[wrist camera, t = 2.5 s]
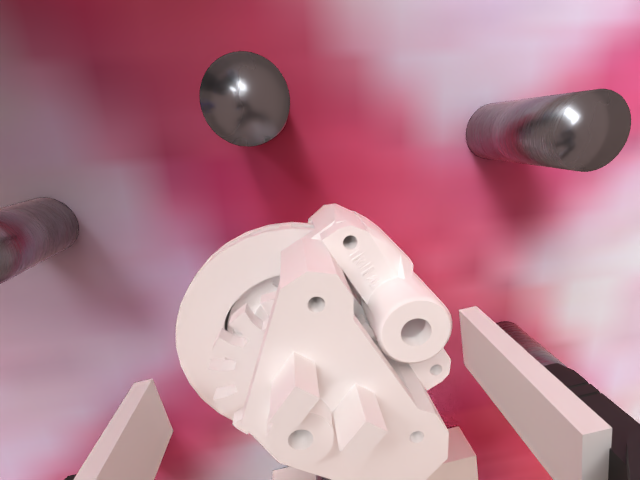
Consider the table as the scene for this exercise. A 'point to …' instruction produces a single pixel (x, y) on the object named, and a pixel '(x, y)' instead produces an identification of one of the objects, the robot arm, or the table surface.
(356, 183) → the table surface
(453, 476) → the parts stand
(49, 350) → the table surface
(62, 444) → the table surface
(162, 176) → the table surface
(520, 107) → the standoff posts
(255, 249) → the mechanical part
